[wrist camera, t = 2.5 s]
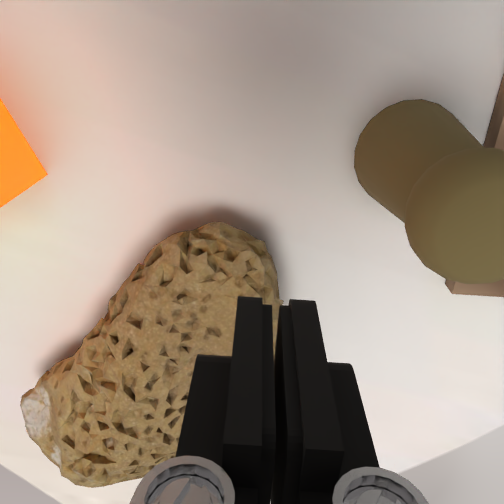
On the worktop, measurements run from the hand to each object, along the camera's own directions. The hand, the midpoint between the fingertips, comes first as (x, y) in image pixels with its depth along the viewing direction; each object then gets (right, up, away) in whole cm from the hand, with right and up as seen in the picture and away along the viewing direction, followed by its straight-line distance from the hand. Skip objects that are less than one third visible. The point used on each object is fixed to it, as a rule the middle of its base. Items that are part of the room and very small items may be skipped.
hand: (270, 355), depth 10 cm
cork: (+8, +8, +16) cm, 20 cm away
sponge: (-6, -3, +22) cm, 23 cm away
